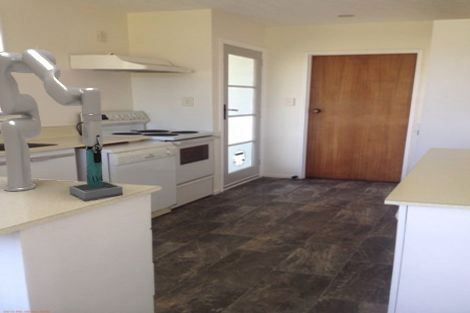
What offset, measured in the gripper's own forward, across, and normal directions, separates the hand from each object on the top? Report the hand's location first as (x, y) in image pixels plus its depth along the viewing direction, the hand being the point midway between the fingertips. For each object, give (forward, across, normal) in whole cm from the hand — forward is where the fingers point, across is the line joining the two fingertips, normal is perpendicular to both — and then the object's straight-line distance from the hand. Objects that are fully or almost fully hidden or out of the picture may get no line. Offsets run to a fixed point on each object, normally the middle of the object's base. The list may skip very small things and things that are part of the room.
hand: (94, 160), depth 163 cm
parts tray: (+14, 0, 0) cm, 14 cm away
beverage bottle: (+12, 0, 0) cm, 12 cm away
